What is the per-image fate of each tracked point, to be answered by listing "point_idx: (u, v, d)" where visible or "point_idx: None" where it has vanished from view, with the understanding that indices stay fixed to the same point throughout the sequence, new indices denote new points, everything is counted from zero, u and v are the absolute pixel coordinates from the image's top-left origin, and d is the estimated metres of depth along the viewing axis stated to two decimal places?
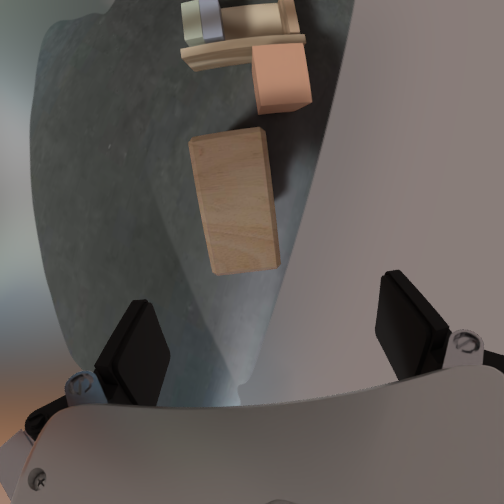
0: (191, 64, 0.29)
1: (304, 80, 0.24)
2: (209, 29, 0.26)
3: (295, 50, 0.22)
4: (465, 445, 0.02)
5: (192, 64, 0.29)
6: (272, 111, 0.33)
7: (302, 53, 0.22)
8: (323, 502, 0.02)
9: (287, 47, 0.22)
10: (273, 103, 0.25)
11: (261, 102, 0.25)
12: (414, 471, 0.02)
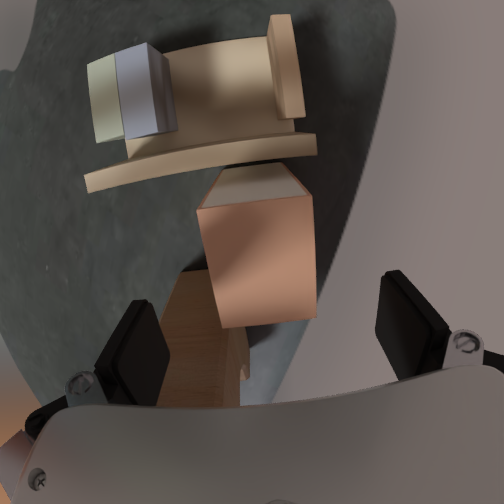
0: None
1: (306, 281, 0.14)
2: (134, 118, 0.16)
3: (293, 216, 0.12)
4: (465, 445, 0.02)
5: None
6: None
7: (308, 222, 0.12)
8: (323, 502, 0.02)
9: (275, 210, 0.12)
10: (244, 324, 0.15)
11: (223, 323, 0.15)
12: (414, 471, 0.02)
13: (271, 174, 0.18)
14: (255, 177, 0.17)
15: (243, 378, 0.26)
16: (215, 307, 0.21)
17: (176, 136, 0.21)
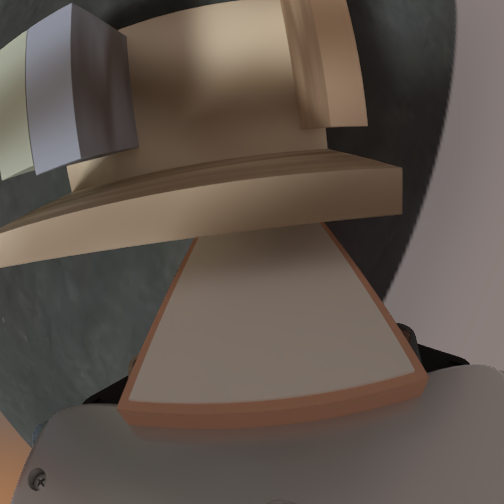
0: None
1: None
2: (45, 135, 0.07)
3: None
4: (465, 445, 0.02)
5: None
6: None
7: None
8: (323, 502, 0.02)
9: None
10: None
11: None
12: (414, 471, 0.02)
13: (297, 240, 0.09)
14: (266, 249, 0.09)
15: None
16: None
17: (136, 156, 0.13)
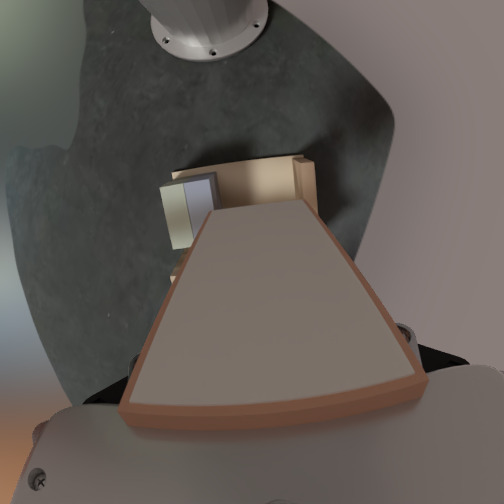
0: None
1: None
2: None
3: None
4: (465, 445, 0.02)
5: None
6: None
7: None
8: (323, 502, 0.02)
9: None
10: None
11: None
12: (414, 471, 0.02)
13: (297, 241, 0.09)
14: (266, 250, 0.09)
15: None
16: None
17: None
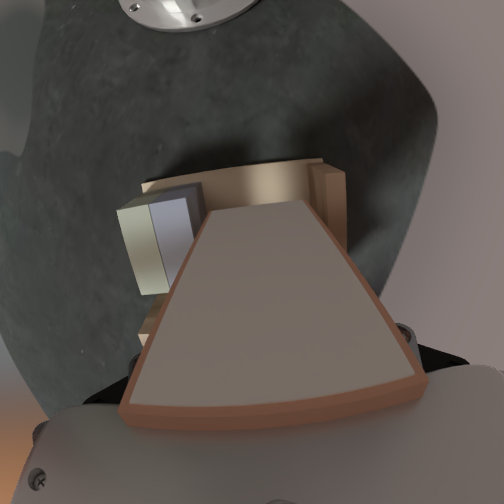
0: None
1: None
2: None
3: None
4: (465, 445, 0.02)
5: None
6: None
7: None
8: (323, 502, 0.02)
9: None
10: None
11: None
12: (414, 471, 0.02)
13: (297, 242, 0.09)
14: (266, 250, 0.09)
15: None
16: None
17: None
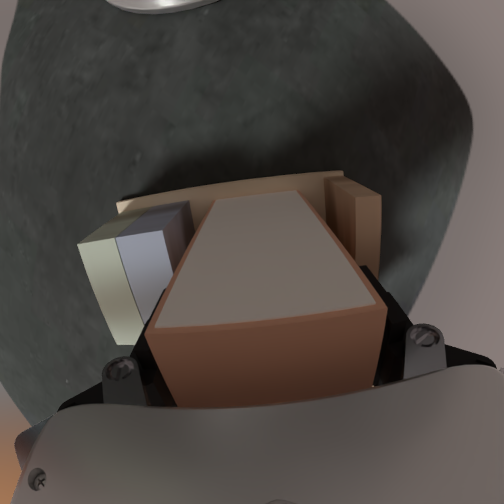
0: None
1: None
2: None
3: (345, 347, 0.06)
4: (465, 445, 0.02)
5: None
6: None
7: (370, 352, 0.06)
8: (323, 502, 0.02)
9: (311, 340, 0.05)
10: None
11: None
12: (414, 471, 0.02)
13: (289, 220, 0.11)
14: (263, 227, 0.11)
15: None
16: None
17: None
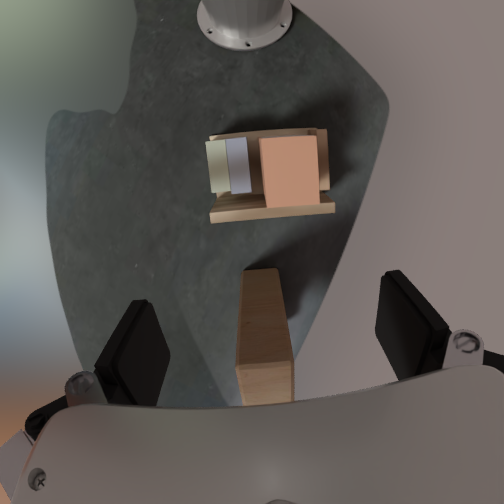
0: None
1: (313, 180, 0.26)
2: (237, 182, 0.32)
3: (307, 145, 0.24)
4: (465, 445, 0.02)
5: None
6: None
7: (314, 148, 0.24)
8: (323, 502, 0.02)
9: (299, 141, 0.24)
10: (280, 205, 0.27)
11: (268, 204, 0.27)
12: (414, 471, 0.02)
13: None
14: None
15: None
16: (273, 289, 0.37)
17: None
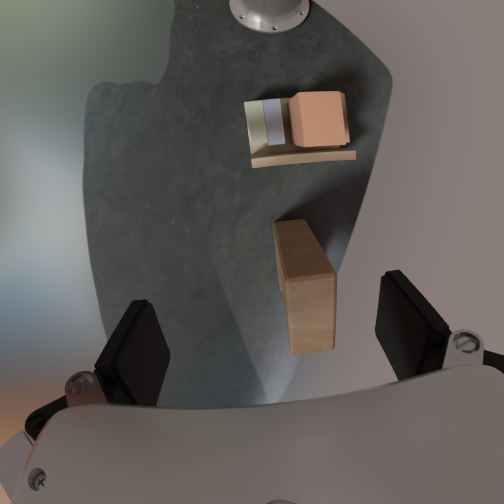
0: None
1: (340, 125, 0.30)
2: (273, 135, 0.36)
3: (333, 98, 0.28)
4: (465, 445, 0.02)
5: None
6: None
7: (339, 101, 0.28)
8: (323, 502, 0.02)
9: (327, 95, 0.28)
10: (314, 145, 0.31)
11: (305, 143, 0.31)
12: (414, 471, 0.02)
13: None
14: None
15: None
16: (305, 231, 0.41)
17: (280, 145, 0.42)
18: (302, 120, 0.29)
